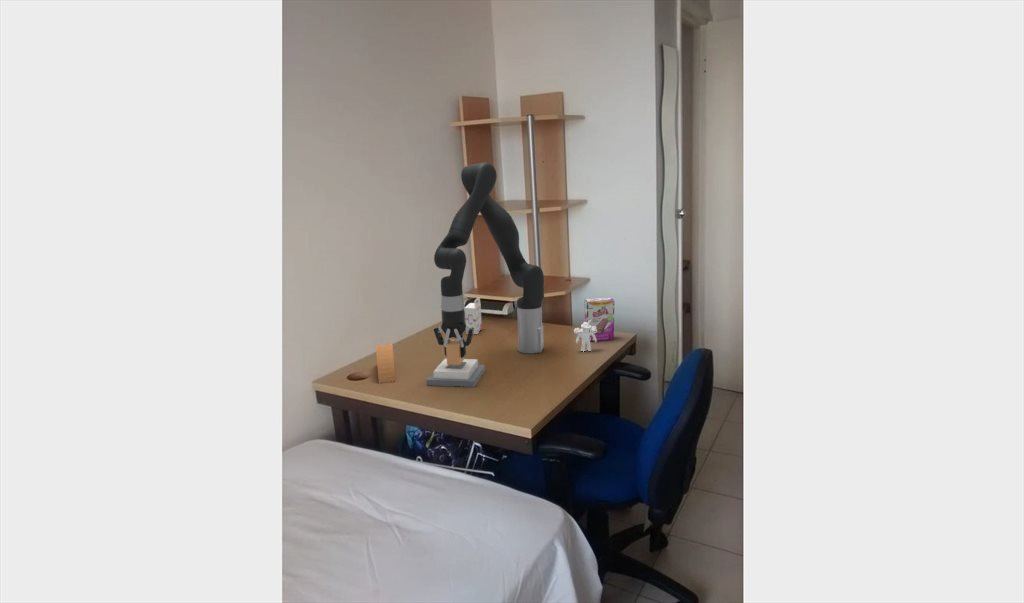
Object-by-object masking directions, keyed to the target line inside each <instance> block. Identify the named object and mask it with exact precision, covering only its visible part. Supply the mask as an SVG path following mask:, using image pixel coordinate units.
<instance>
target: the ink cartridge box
mask: <svg viewBox="0 0 1024 603" xmlns="http://www.w3.org/2000/svg"><path fill="white" fill-rule="evenodd" d="M481 307H482V306H481V297H480V296H478V297H477V298H476V299H475V300H474V302H469V303H468V304H467V305H466V306H464V316H465V324H466V327H469V328H472V327H473V328H474V332H473V334H477V335H478V334H479V333H480V332H481V331H482V330H483V328H482V327H483V326H482V308H481ZM480 330H481V331H480ZM479 331H480V332H479ZM465 332H466V334H467V331H466V330H465Z"/></svg>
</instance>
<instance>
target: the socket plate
mask: <svg viewBox="0 0 1024 603" xmlns="http://www.w3.org/2000/svg"><path fill="white" fill-rule="evenodd" d="M485 372H486V365H485V364H479V359H475V358H473V359H471V358H470V359H469V358H464V360H463V363H462V364H460V365H455V367H453V364H447V357H446V358H444V359H443V360H442V362H440V364H438V365H437V367H435V369H434V370H433V372H432V373H431V374H430V376H428V378H426V386H430V385H432V386H434V387H454V386H461V387H460V388H475V386H476V385H477V383H478V382H479V381H480V379H481V378H480V377H482V376H483V375H484V373H485ZM482 374H483V375H482ZM463 386H464V387H463Z"/></svg>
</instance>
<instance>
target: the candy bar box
mask: <svg viewBox="0 0 1024 603" xmlns="http://www.w3.org/2000/svg"><path fill="white" fill-rule="evenodd" d="M583 303H584V313H583V314H584V315H583V316H584V317H583V318H584V320H583V323H584V322H587V323H588V322H589V321H590V320H591V319H592V321H591V322H590V323H588V324H589V325H590V326H591V327H590V329H591V328H592V326H596V327H595V328H596V329H597V332H596V331H593V332H596V333H594V335H595V337H596V339H597V341H596V342H601V341H614V339H615V338H614V337H615V336H614V334H615V333H614V330H615V299H613V298H612V297H603V298H602V297H600V298H585V299H584V301H583ZM590 342H595V340H593V337H592V335H590Z"/></svg>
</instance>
